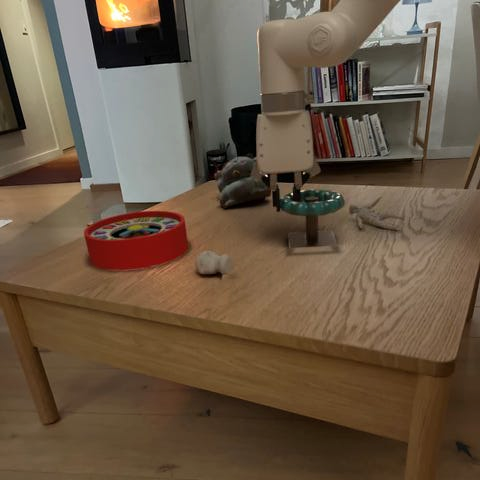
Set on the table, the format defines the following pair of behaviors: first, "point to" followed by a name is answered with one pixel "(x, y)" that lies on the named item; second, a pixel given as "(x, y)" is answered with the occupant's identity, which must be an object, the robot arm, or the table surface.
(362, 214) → the soldier figure
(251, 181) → the grey stacked animal sculpture
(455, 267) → the table surface
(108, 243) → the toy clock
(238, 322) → the table surface
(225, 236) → the table surface
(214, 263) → the pale two-lobed sculpture
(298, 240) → the stand
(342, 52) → the robot arm
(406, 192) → the table surface
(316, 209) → the bracelet
